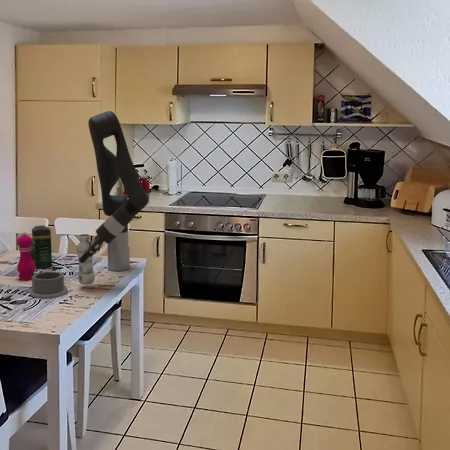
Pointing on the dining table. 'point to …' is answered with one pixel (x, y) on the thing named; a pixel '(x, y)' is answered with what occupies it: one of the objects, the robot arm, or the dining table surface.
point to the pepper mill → (25, 258)
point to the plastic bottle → (85, 268)
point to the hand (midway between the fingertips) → (81, 259)
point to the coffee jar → (42, 247)
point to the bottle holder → (48, 285)
